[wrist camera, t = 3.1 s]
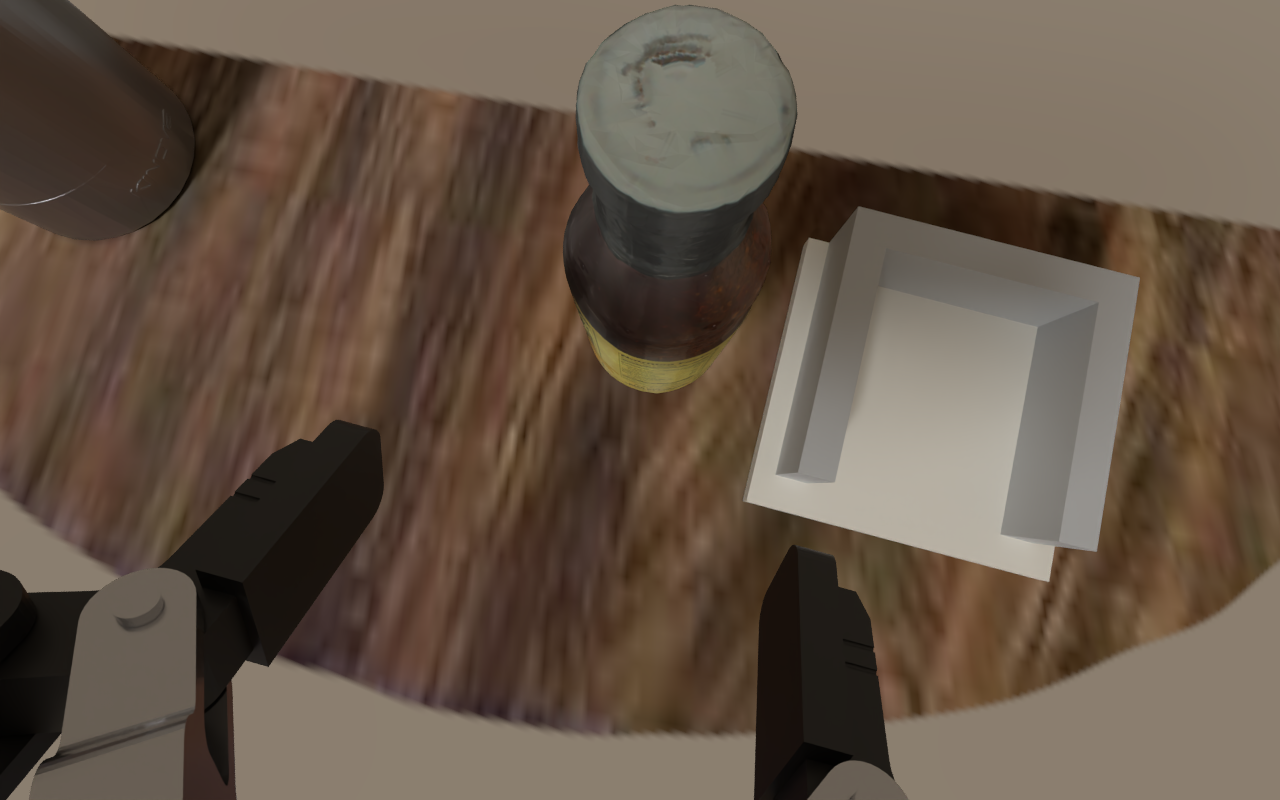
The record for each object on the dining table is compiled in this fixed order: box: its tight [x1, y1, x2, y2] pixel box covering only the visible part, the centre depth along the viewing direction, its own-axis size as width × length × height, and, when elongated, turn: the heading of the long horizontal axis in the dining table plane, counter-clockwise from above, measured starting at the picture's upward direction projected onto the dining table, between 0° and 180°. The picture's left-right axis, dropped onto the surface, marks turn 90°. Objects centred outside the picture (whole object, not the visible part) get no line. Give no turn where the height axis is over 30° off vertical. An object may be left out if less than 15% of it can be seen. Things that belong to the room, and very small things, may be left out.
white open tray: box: [743, 206, 1140, 582], centre depth 28 cm, size 14×13×5 cm
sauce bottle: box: [563, 5, 797, 393], centre depth 21 cm, size 7×6×20 cm
